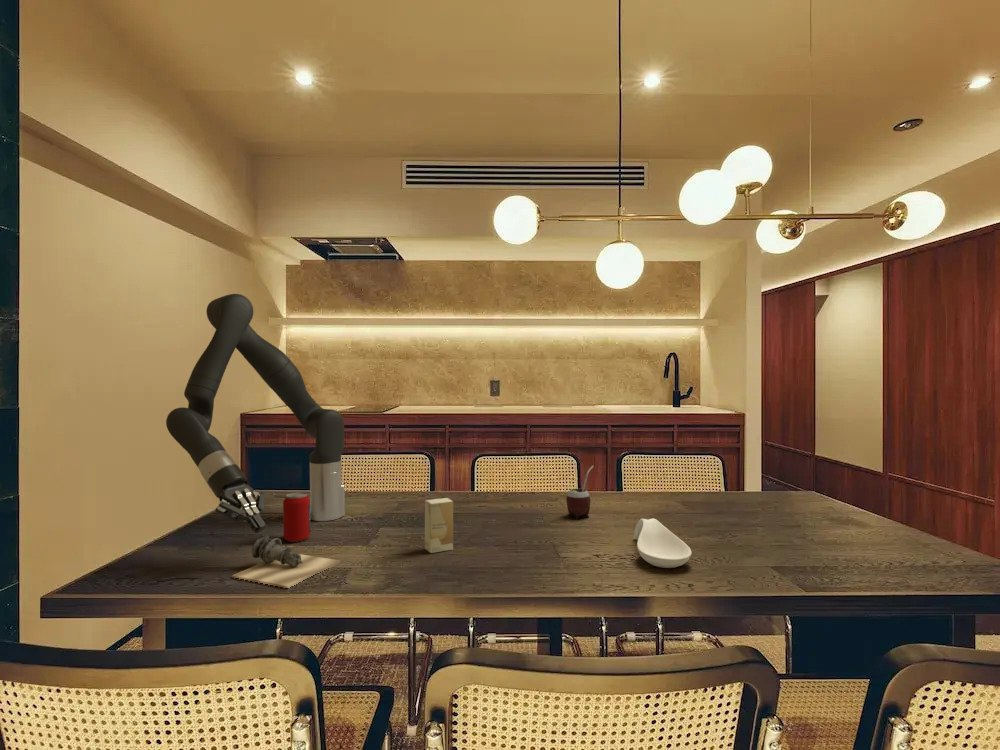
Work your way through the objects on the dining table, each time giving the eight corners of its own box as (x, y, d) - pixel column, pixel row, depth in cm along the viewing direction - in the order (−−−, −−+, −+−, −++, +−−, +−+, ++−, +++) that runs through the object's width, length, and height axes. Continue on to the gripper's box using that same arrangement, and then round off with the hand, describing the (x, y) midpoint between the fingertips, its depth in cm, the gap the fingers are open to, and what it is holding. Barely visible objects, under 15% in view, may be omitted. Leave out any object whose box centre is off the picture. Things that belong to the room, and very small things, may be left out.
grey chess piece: (249, 563, 123) (292, 580, 119) (251, 540, 122) (294, 557, 118) (268, 551, 129) (310, 568, 125) (270, 529, 127) (312, 545, 124)
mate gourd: (564, 519, 160) (563, 468, 160) (570, 512, 167) (570, 464, 167) (588, 521, 157) (588, 469, 157) (594, 514, 164) (594, 465, 164)
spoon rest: (700, 573, 117) (699, 540, 117) (646, 575, 116) (645, 542, 116) (663, 539, 140) (663, 511, 140) (618, 540, 140) (618, 513, 140)
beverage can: (316, 536, 146) (315, 492, 146) (299, 544, 140) (298, 498, 140) (295, 534, 149) (294, 491, 148) (278, 542, 142) (277, 496, 142)
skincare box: (430, 554, 131) (429, 503, 131) (424, 548, 135) (423, 500, 135) (454, 549, 134) (453, 500, 134) (448, 544, 138) (447, 496, 138)
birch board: (232, 578, 118) (232, 575, 117) (288, 554, 132) (288, 552, 132) (287, 589, 111) (287, 586, 111) (340, 563, 126) (340, 560, 126)
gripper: (205, 468, 122) (245, 527, 118) (252, 459, 135) (291, 512, 130) (189, 490, 125) (228, 549, 120) (237, 478, 137) (275, 532, 132)
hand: (261, 530), depth 125 cm, fingers closed
